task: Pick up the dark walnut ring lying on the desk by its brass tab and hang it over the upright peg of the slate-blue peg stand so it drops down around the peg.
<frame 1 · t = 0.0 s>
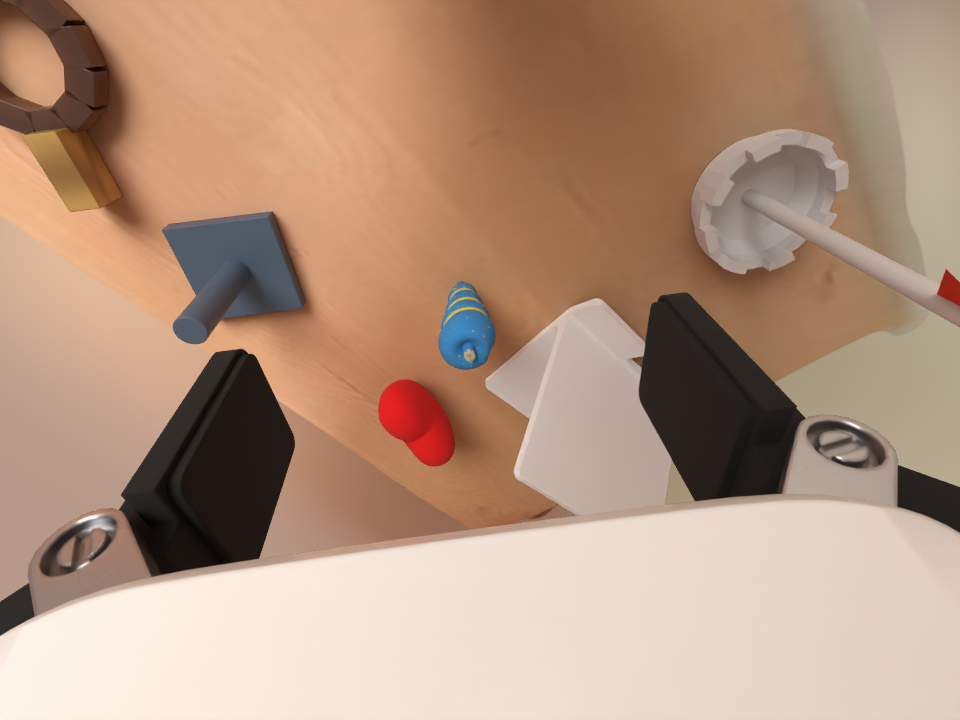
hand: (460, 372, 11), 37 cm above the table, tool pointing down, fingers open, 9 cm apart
flag stand: (742, 192, 47), on the table
peg rack: (241, 265, 47), on the table
tablet stand: (595, 387, 61), on the table
heart: (419, 387, 59), on the table
ornament: (460, 281, 50), on the table
walnut ring: (26, 54, 36), on the table
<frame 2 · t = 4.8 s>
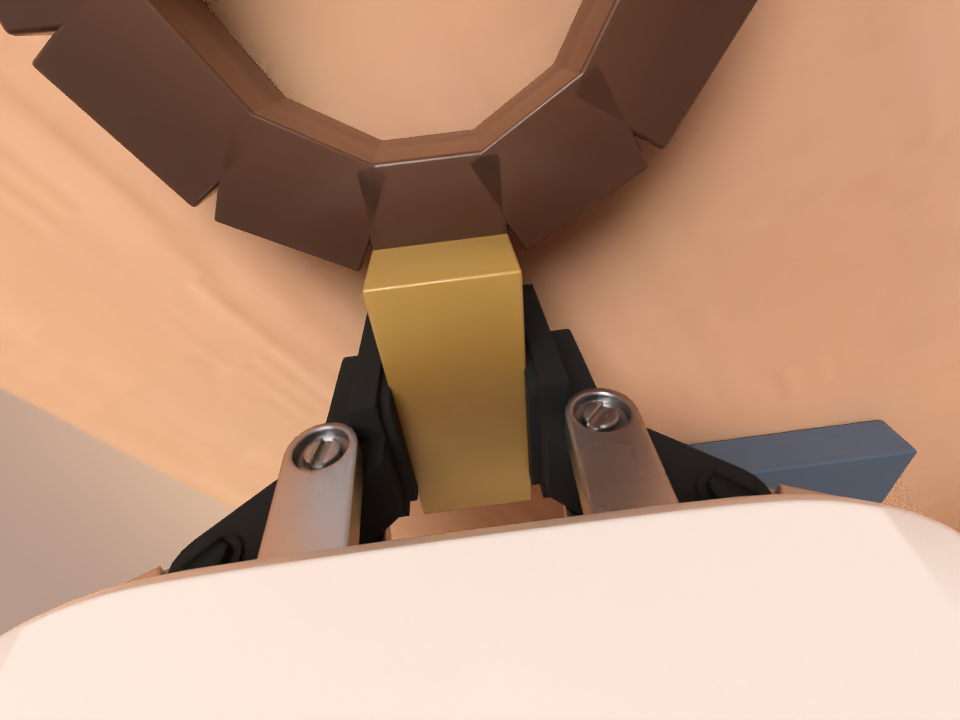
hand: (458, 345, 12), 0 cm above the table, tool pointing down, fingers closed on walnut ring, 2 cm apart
peg rack: (709, 523, 19), on the table
when the fingers open (2 cm above the table, at t = 13.8 s): walnut ring stays where it is, resting on peg rack.
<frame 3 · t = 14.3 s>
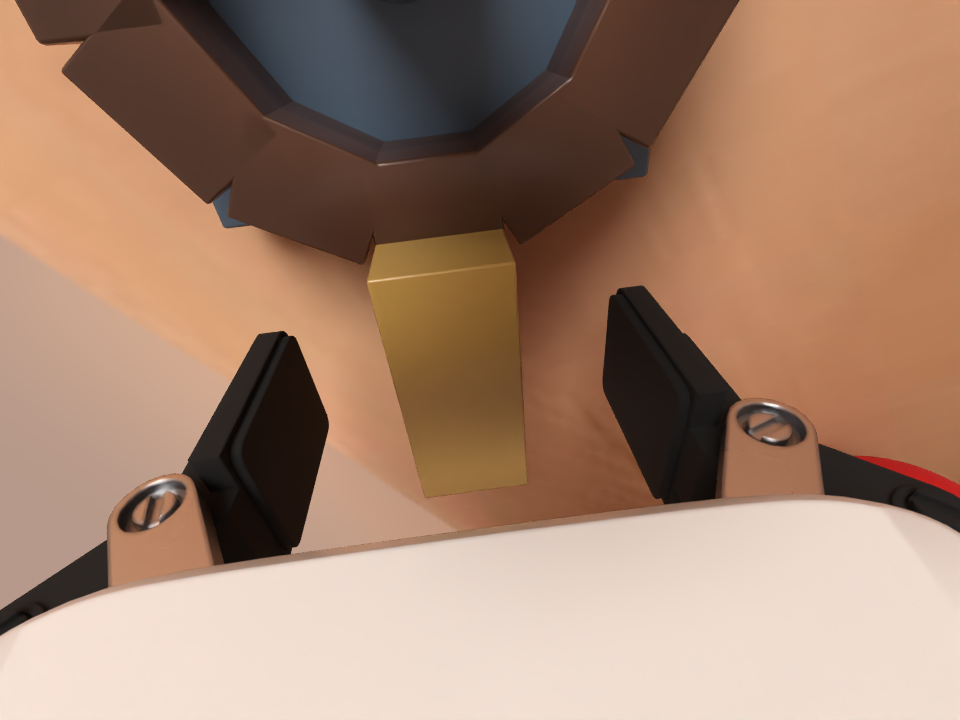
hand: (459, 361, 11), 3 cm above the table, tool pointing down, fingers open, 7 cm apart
heart: (815, 462, 21), on the table
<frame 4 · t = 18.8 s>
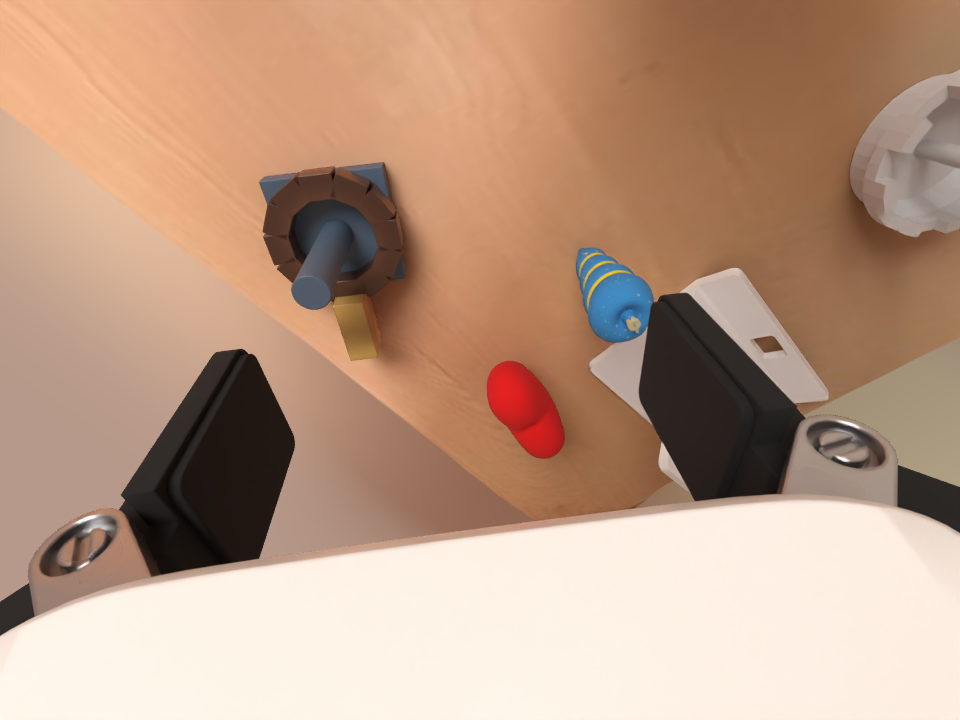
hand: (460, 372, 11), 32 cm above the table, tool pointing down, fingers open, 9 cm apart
flag stand: (912, 144, 41), on the table
peg rack: (340, 227, 41), on the table
tablet stand: (706, 372, 55), on the table
heart: (516, 371, 53), on the table
ornament: (580, 248, 44), on the table
walnut ring: (337, 234, 40), point 1 cm above the table, touching peg rack
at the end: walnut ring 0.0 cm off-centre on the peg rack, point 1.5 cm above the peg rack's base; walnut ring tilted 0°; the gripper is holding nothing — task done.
